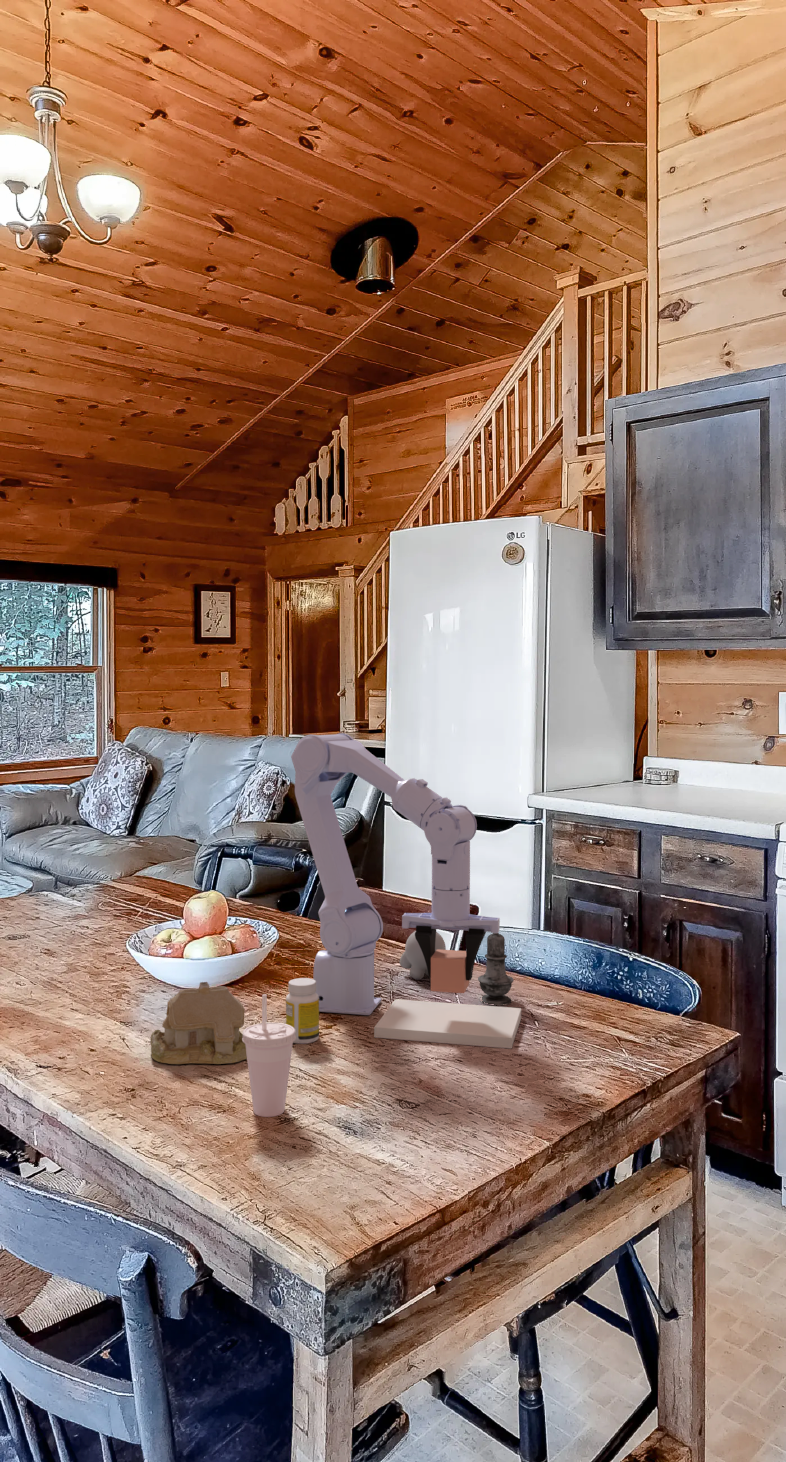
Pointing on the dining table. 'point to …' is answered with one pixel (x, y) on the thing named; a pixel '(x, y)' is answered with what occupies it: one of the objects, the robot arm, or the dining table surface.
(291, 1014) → the supplement bottle
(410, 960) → the round bodied animal figurine
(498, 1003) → the salt shaker
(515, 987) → the dining table surface
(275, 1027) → the smoothie
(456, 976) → the cube
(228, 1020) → the ceramic model
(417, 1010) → the tray
